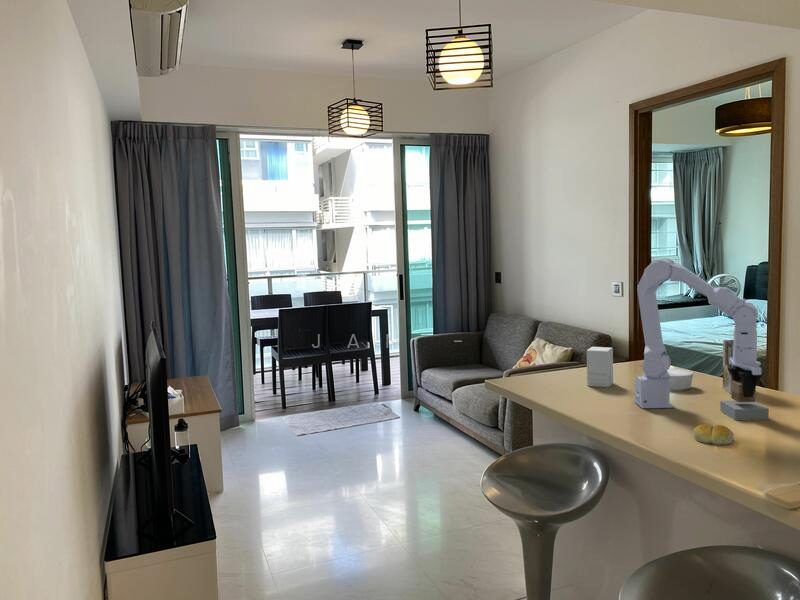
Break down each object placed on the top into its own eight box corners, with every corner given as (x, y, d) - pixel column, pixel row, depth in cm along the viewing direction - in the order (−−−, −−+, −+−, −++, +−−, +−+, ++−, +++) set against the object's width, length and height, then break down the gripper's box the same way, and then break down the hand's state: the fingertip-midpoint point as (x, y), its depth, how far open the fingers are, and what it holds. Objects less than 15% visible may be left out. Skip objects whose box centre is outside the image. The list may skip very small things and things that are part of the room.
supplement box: (613, 383, 220) (613, 347, 219) (608, 388, 214) (608, 351, 213) (592, 381, 224) (592, 346, 223) (586, 385, 218) (586, 349, 217)
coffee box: (752, 395, 199) (753, 344, 197) (730, 394, 200) (731, 344, 198) (743, 387, 208) (744, 339, 206) (721, 387, 209) (722, 339, 207)
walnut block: (738, 402, 176) (739, 384, 176) (731, 398, 181) (731, 380, 180) (755, 402, 176) (755, 384, 175) (747, 397, 180) (747, 380, 180)
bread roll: (697, 433, 166) (697, 418, 165) (735, 439, 160) (735, 423, 160) (689, 441, 160) (689, 426, 159) (728, 448, 154) (728, 432, 153)
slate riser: (734, 420, 175) (734, 409, 174) (720, 410, 184) (720, 400, 183) (768, 419, 174) (768, 408, 174) (752, 410, 183) (752, 400, 183)
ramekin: (653, 389, 210) (653, 373, 210) (660, 382, 220) (660, 367, 219) (690, 393, 204) (690, 377, 204) (695, 385, 213) (695, 370, 213)
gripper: (773, 351, 169) (772, 401, 171) (747, 341, 184) (746, 387, 185) (746, 352, 170) (745, 401, 171) (722, 342, 184) (721, 388, 186)
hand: (744, 394), depth 178 cm, fingers closed on walnut block, 4 cm apart
